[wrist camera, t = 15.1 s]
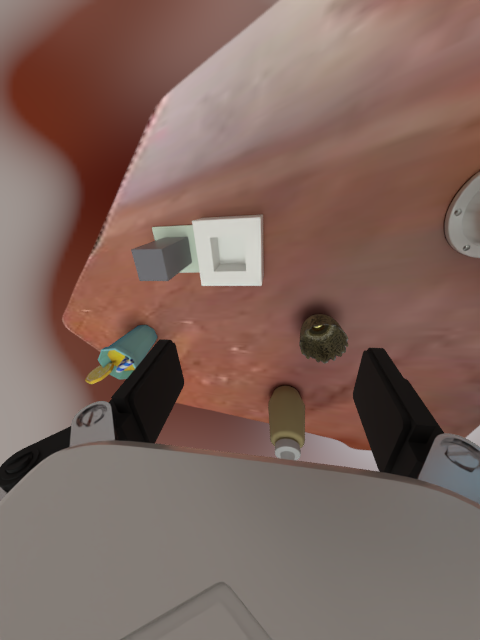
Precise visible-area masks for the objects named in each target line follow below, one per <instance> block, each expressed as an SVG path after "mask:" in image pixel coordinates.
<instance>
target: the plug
mask: <svg viewBox="0 0 480 640" xmlns="http://www.w3.org/2000/svg"><path fill="white" fill-rule="evenodd" d="M131 251H132V254H133V258H134V262H135V265H136V269H137V272H138V276H139V280H140V281H169V280H170V279H171V278H173V277H174V276H175V275H176V274H178V273H179V272H180V271H182V270H183V269H184V268H186V267H187V266H188V265H189V264H191V263H192V259H191V252H190V246H189V239H188V237H164V238H161V239H159V240H156V241H153V242H151V243H148V244H145V245H142V246H140V247H137V248H134V249H132V250H131Z"/></svg>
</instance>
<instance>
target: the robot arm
mask: <svg viewBox="0 0 480 640" xmlns="http://www.w3.org/2000/svg"><path fill="white" fill-rule="evenodd" d="M454 212H455V213H454ZM445 235H446V239H447V241H448V243H449V244H450V246H451V247H452V248H453V249H454V250H456V251H457V252H459V253H461V254H464V255H467V256H470V257H476V258H480V171H479V172H478V173H477V174H475V175H474V176H473V177H472V178H471V179H470V180H469V181H468V182H467V183H466V184H465V185H464V186H463V187H462V188H461V189H460V191H459V192H458V193H457V194H456V196H455V198H454V199H453V201H452V203H451V204H450V207H449V209H448V212H447V214H446V219H445ZM183 386H184V378H183V374H182V370H181V366H180V361H179V357H178V353H177V349H176V345H175V343H173V342H172V341H171V340H159V341H158V342H157V343H156V344H155V346H154V347H153V348H152V349H151V350H150V352H149V353H148V354H147V355H146V356H145V358H144V359H143V360H142V361H141V362H140V364H139V365H138V366H137V367H136V368H135V370H134V371H133V372H132V373H131V374H130V376H129V377H128V378H127V379H126V380H125V382H124V383H123V384H122V385H121V386H120V388H119V389H118V390H117V391H116V392H115V394H114V395H113V396H112V397H111V398H112V399H111V401H110V402H109V403H108V402H104V401H100V402H95V403H92V404H90V405H88V406H86V407H84V408H83V409H82V410H80V411H79V412H78V413H77V414H76V415H75V417H74V419H73V421H72V424H71V426H70V427H68V428H66V429H64V430H62V431H60V432H58V433H56V434H54V435H51V436H49V437H47V438H45V439H43V440H41V441H39V442H37V443H34V444H32V445H30V446H28V447H26V448H24V449H22V450H20V451H18V452H17V453H15V454H14V455H12V456H11V457H10V458H9V459H7V460H6V461H5V462H4V463H3V464H2V466H1V467H0V640H480V447H479V446H478V445H476V444H475V443H473V442H471V441H469V440H468V439H466V438H463V437H461V436H458V435H454V434H446V433H444V432H443V431H442V429H441V428H440V426H439V425H438V423H437V422H436V421H435V419H434V418H433V416H432V415H431V413H430V412H429V410H428V409H427V407H426V406H425V404H424V403H423V402H422V400H421V399H420V397H419V396H418V394H417V393H416V391H415V390H414V388H413V387H412V385H411V384H410V383H409V381H408V380H406V379H405V378H403V376H402V375H401V373H400V372H399V370H398V369H397V367H396V366H395V364H394V363H393V361H392V360H391V358H390V357H389V355H388V354H387V352H386V351H385V350H384V349H383V348H368V350H367V351H364V352H363V355H362V359H361V363H360V367H359V371H358V375H357V379H356V383H355V387H354V391H353V399H354V402H355V405H356V408H357V411H358V413H359V416H360V419H361V422H362V425H363V427H364V430H365V433H366V436H367V439H368V441H369V444H370V447H371V450H372V453H373V456H374V458H375V461H376V464H377V467H378V469H379V471H380V472H377V471H370V470H363V469H356V468H349V467H342V466H334V465H327V464H318V463H311V462H303V461H296V460H288V459H280V458H272V457H264V456H256V455H248V454H240V453H231V452H223V451H214V450H207V449H198V448H189V447H181V446H172V445H163V444H154V443H155V442H156V439H157V438H158V436H159V434H160V432H161V430H162V428H163V426H164V424H165V422H166V420H167V418H168V416H169V414H170V412H171V410H172V408H173V406H174V404H175V402H176V400H177V398H178V396H179V394H180V392H181V390H182V388H183Z"/></svg>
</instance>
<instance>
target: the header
mask: <svg viewBox="0 0 480 640" xmlns="http://www.w3.org/2000/svg"><path fill="white" fill-rule="evenodd" d="M192 224H193V231H194V237H195V244H196V251H197V257H198V264H199V271H200V277H201V284H202V286H262V281H263V277H264V264H263V215H245V216H227V217H209V218H200V219H197V220H194V221H192Z"/></svg>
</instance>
